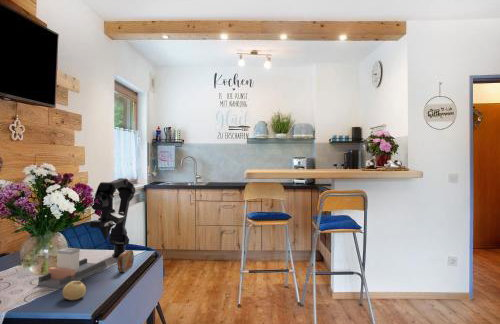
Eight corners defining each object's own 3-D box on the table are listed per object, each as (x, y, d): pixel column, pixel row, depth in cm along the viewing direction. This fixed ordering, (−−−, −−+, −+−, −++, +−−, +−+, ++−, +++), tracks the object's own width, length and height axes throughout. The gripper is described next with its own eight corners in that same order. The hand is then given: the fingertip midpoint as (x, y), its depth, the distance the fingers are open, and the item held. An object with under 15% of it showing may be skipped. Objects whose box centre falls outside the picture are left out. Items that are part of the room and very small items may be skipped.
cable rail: (84, 265, 172) (84, 254, 172) (105, 267, 169) (106, 256, 169) (38, 285, 145) (38, 272, 145) (62, 288, 142) (62, 275, 142)
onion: (64, 304, 127) (64, 285, 127) (60, 297, 134) (61, 278, 134) (87, 299, 132) (88, 281, 132) (83, 292, 138) (83, 275, 138)
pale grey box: (65, 271, 156) (65, 247, 156) (79, 273, 155) (79, 248, 155) (56, 275, 151) (57, 250, 151) (70, 277, 150) (71, 251, 150)
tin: (122, 274, 160) (123, 256, 160) (115, 274, 160) (116, 256, 160) (134, 264, 175) (134, 247, 175) (128, 264, 175) (128, 247, 175)
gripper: (109, 211, 163) (108, 244, 163) (131, 205, 181) (131, 235, 181) (88, 209, 165) (87, 242, 165) (112, 204, 183) (112, 234, 184)
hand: (106, 238), depth 174 cm, fingers closed
